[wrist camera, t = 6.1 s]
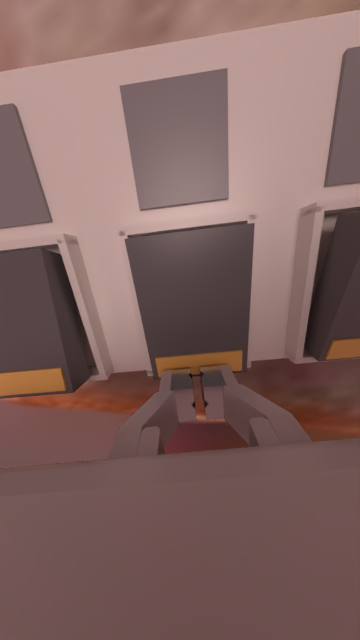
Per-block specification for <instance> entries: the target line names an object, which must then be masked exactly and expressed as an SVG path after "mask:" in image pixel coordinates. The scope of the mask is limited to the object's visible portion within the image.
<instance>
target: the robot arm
mask: <svg viewBox="0 0 360 640" xmlns="http://www.w3.org/2000/svg"><path fill="white" fill-rule="evenodd" d="M199 370H200V378H201V391H202V397H203V401H204V409H205V415H206V419H221V418H225V420H226V421H227V422H228V423H229V424H230V425H231V426H232V427H233V429H234V430H235V431H236V432H237V433H238V434H239V435H240V436H241V437H242V438H243V439H244V440H245V441H246V442H247V443H248V444H249V447H244V448H232V449H220V450H209V451H197V452H185V453H173V454H165V451H164V449H165V447H166V445H167V444H168V442H169V440H170V438H171V436H172V435H173V433H174V431H175V429H176V428H177V426H178V424H179V422H187V421H195V420H196V410H195V400H194V391H193V382H192V373H191V368H187V369H174V370H164V371H162V374H161V380H160V387H159V392H156V393H155V394H154V395H153V396H151V397H150V398H149V399H148V400H147V401H146V402H145V403H144V404H143V405H142V406H141V407H140V408H139V409H138V410H137V411H136V412H135V413H134V414H133V415H132V416H131V417H130V418H129V419H128V420H127V421H126V422H125V423H124V424H123V425H122V426H121V427H120V428H119V429H118V432H117V434H116V437H115V440H114V442H113V445H112V448H111V451H110V453H109V456H108V459H103V460H92V461H79V462H67V463H56V464H44V465H32V466H20V467H8V468H0V640H360V438H350V439H339V440H328V441H317V442H316V441H315V442H313V441H312V440H311V439H310V437H309V436H308V435H307V433H306V432H305V431H304V429H303V428H302V427H301V425H300V424H299V423H298V421H297V420H296V419H295V417H294V416H293V415H292V413H290V412H288V411H287V410H285V409H283V408H282V407H280V406H278V405H276V404H275V403H273V402H271V401H270V400H268V399H266V398H265V397H263V396H261V395H259V394H258V393H256V392H254V391H253V390H251V389H249V388H248V387H246V386H244V385H242V384H238V382H237V380H236V378H235V376H234V374H233V372H232V370H231V368H230V366H229V364H223V365H217V366H209V367H200V368H199Z"/></svg>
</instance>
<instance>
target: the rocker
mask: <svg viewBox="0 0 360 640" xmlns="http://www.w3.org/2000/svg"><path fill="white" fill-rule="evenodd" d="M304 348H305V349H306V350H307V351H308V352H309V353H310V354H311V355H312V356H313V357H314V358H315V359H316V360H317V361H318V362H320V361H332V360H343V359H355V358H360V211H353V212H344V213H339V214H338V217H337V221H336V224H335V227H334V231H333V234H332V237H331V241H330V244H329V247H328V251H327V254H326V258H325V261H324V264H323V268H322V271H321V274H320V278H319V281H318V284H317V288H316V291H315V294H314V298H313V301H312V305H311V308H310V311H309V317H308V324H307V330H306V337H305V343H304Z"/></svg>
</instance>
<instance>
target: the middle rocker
mask: <svg viewBox="0 0 360 640" xmlns="http://www.w3.org/2000/svg"><path fill="white" fill-rule="evenodd" d="M254 226H255V223H250V224H241V225H233V226H225V227H217V228H208V229H200V230H192V231H184V232H176V233H167V234H159V235H151V236H143V237H135V238H126V239H124V240H125V245H126V249H127V254H128V259H129V263H130V268H131V273H132V278H133V282H134V287H135V292H136V296H137V301H138V306H139V311H140V315H141V320H142V325H143V329H144V334H145V339H146V343H147V348H148V353H149V358H150V362H151V367H152V372H153V376H154V380H155V379H161V374H162V371H164V370H174V369H187V368H191V373H192V376H200V370H199V368H200V367H209V366H217V365H223V364H229V366H230V368H231V370H232V372H233V373H239V372H247V357H248V338H249V319H250V301H251V282H252V263H253V245H254Z"/></svg>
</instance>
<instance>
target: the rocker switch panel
mask: <svg viewBox="0 0 360 640" xmlns="http://www.w3.org/2000/svg"><path fill="white" fill-rule="evenodd" d="M353 211H360V10H355V11H349V12H344V13H338V14H332V15H326V16H321V17H315V18H309V19H303V20H297V21H292V22H286V23H280V24H274V25H269V26H263V27H257V28H251V29H245V30H240V31H234V32H228V33H222V34H216V35H211V36H205V37H199V38H193V39H188V40H182V41H176V42H170V43H164V44H159V45H153V46H147V47H141V48H136V49H130V50H124V51H118V52H112V53H107V54H101V55H95V56H89V57H83V58H78V59H72V60H66V61H60V62H55V63H49V64H43V65H37V66H31V67H26V68H20V69H14V70H8V71H3V72H0V253H6V252H14V251H22V250H31V249H39V248H42V249H45V250H48V251H52V252H55V253H59V254H61V256H62V259H63V262H64V265H65V268H66V271H67V274H68V278H69V281H70V284H71V287H72V290H73V294H74V299H75V303H76V308H77V313H78V318H79V323H80V328H81V333H82V338H83V342H84V347H85V352H86V357H87V362H88V367H89V372H90V378H89V379H88V380H87V381H99V380H108V378H109V376H110V375H111V373H119V372H131V371H142V370H147V375H148V376H153V372H152V367H151V362H150V358H149V353H148V348H147V343H146V339H145V334H144V329H143V325H142V320H141V315H140V311H139V306H138V301H137V296H136V292H135V287H134V282H133V278H132V273H131V268H130V263H129V259H128V254H127V249H126V245H125V240H124V239H126V238H135V237H143V236H151V235H159V234H167V233H176V232H184V231H192V230H200V229H208V228H217V227H225V226H233V225H241V224H250V223H255V226H254V245H253V263H252V282H251V301H250V319H249V338H248V357H247V368H251V361H259V360H271V359H282V358H289V359H290V360H291V361H292V362H293V363H294V364H301V363H313V362H318V361H317V360H316V359H315V358H314V357H313V356H312V355H311V354H310V353H309V352H308V351H307V350H306V349H305V348H304V343H305V337H306V330H307V324H308V317H309V311H310V308H311V305H312V301H313V298H314V294H315V291H316V288H317V284H318V281H319V278H320V274H321V271H322V268H323V264H324V261H325V258H326V254H327V251H328V247H329V244H330V241H331V237H332V234H333V231H334V227H335V224H336V221H337V217H338V214H339V213H344V212H353ZM355 359H360V358H355ZM343 360H349V359H343ZM332 361H337V360H332ZM320 362H325V361H320ZM87 381H86V382H87Z"/></svg>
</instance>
